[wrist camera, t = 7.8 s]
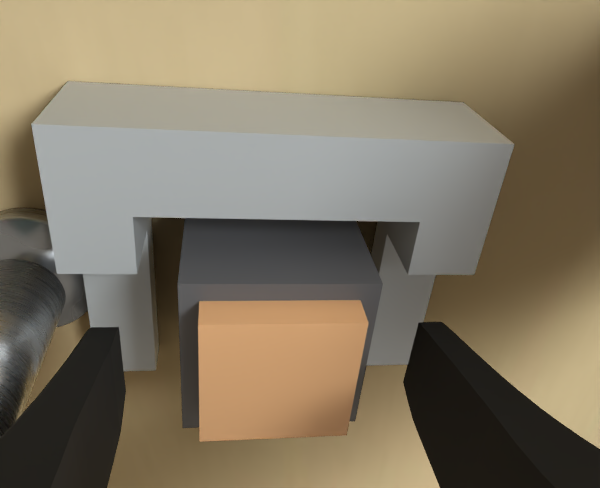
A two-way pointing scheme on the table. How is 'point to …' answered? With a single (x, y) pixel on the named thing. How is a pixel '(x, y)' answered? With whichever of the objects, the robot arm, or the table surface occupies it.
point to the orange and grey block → (274, 326)
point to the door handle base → (39, 254)
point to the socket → (262, 188)
